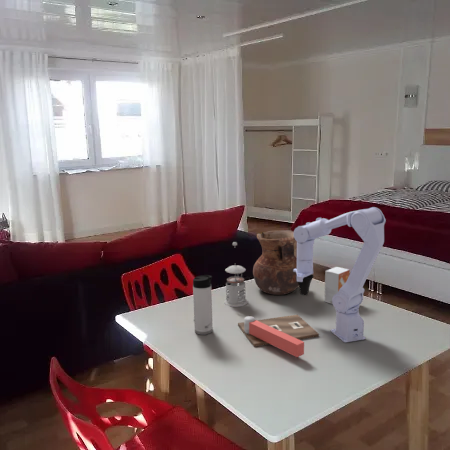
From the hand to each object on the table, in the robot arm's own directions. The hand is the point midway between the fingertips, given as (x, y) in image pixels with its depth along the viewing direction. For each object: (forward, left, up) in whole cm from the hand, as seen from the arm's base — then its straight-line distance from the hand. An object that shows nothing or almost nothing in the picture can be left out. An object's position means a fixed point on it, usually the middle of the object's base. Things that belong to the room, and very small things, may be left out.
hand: (304, 294), depth 165 cm
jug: (+32, -3, -10) cm, 34 cm away
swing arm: (-16, +19, -8) cm, 26 cm away
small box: (+12, -20, -10) cm, 25 cm away
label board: (-6, +13, -9) cm, 17 cm away
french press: (+25, +18, -10) cm, 32 cm away
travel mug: (+2, +37, -10) cm, 38 cm away
